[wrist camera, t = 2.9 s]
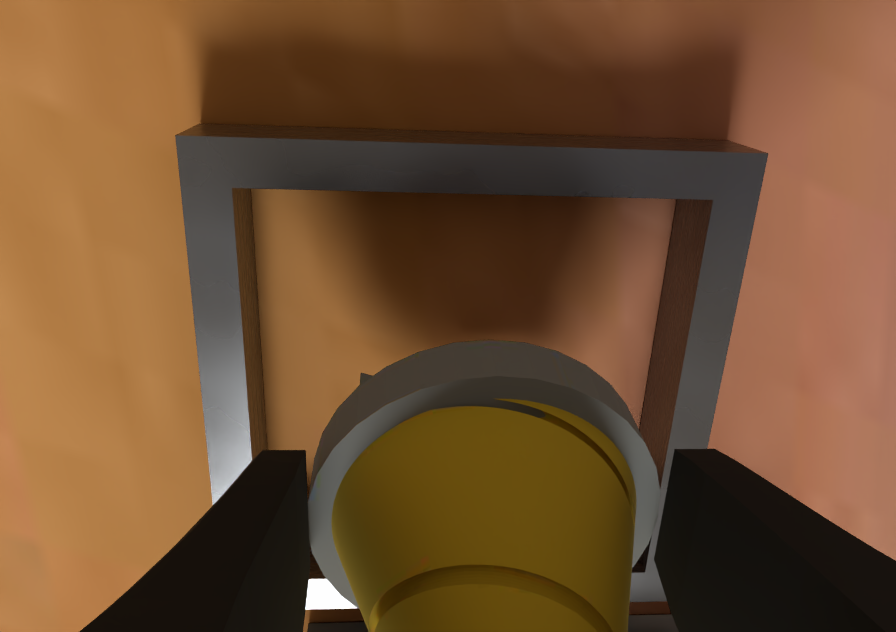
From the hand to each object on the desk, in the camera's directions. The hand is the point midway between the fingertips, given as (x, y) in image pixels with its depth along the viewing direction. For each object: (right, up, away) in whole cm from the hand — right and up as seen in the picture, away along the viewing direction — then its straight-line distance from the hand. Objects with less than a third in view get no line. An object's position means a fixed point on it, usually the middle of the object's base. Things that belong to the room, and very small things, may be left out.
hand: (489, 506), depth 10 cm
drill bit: (0, +2, +4) cm, 4 cm away
